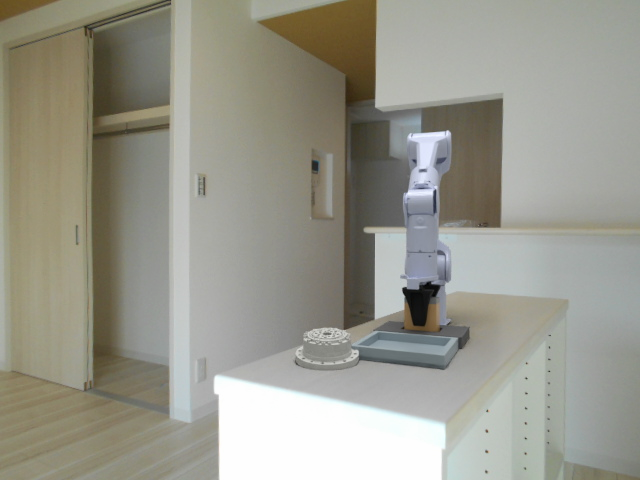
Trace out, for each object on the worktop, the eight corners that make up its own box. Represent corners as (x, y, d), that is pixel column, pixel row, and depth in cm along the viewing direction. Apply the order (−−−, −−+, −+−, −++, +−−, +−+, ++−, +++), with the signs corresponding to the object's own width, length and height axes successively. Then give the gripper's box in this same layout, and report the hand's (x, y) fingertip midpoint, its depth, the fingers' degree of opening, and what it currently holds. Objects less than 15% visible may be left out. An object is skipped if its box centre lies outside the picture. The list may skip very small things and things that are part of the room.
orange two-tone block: (408, 336, 89) (408, 295, 89) (439, 339, 87) (439, 297, 87) (404, 339, 87) (404, 297, 87) (436, 342, 84) (436, 299, 84)
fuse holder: (389, 330, 95) (389, 320, 95) (469, 337, 88) (469, 327, 88) (373, 340, 86) (373, 329, 86) (461, 348, 79) (461, 337, 79)
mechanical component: (288, 371, 68) (355, 375, 66) (288, 343, 67) (355, 346, 66) (303, 348, 78) (361, 351, 76) (302, 322, 77) (361, 325, 75)
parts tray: (375, 341, 85) (375, 330, 85) (458, 349, 79) (458, 337, 79) (349, 358, 73) (349, 345, 73) (444, 369, 67) (444, 355, 67)
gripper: (410, 250, 95) (410, 316, 95) (390, 253, 82) (390, 328, 82) (445, 251, 92) (445, 318, 92) (429, 253, 79) (430, 332, 79)
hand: (422, 323), depth 87 cm, fingers open, 4 cm apart
